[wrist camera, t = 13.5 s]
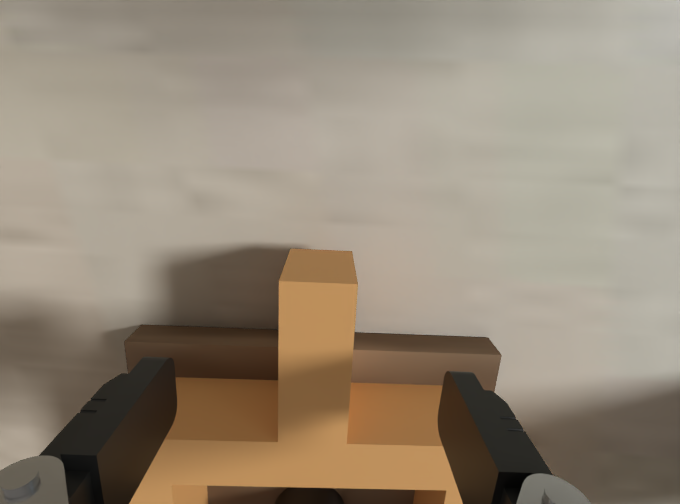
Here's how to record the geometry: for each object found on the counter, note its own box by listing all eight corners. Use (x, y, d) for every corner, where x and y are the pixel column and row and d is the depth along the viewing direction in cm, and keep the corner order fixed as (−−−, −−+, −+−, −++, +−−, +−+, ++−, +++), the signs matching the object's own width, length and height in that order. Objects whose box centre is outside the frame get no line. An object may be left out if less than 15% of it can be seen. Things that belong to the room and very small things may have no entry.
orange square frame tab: (139, 242, 15) (82, 273, 11) (497, 257, 15) (543, 291, 12) (176, 601, 20) (146, 692, 17) (435, 604, 21) (455, 693, 18)
